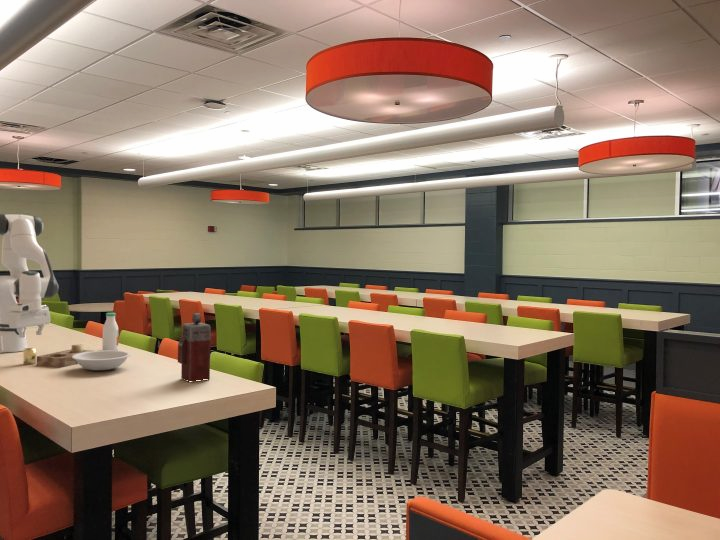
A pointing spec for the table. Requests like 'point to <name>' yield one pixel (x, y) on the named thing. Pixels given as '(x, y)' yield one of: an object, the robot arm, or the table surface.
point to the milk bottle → (110, 333)
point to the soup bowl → (101, 359)
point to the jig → (61, 357)
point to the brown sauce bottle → (195, 350)
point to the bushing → (29, 356)
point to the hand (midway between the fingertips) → (30, 336)
